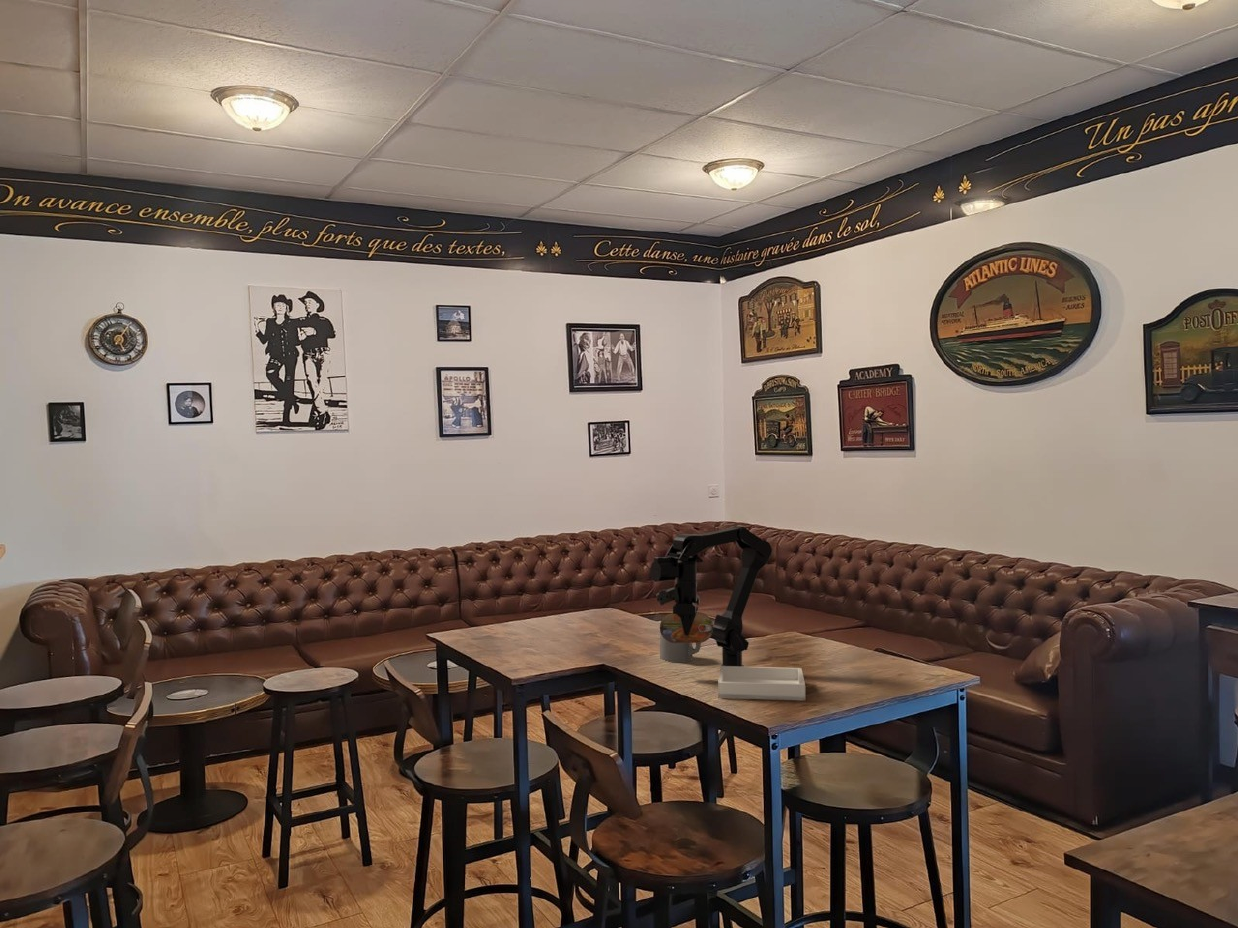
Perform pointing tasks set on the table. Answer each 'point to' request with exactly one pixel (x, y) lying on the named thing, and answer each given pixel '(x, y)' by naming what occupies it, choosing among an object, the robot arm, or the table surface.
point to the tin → (675, 633)
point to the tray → (761, 683)
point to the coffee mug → (677, 650)
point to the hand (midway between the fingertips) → (687, 634)
